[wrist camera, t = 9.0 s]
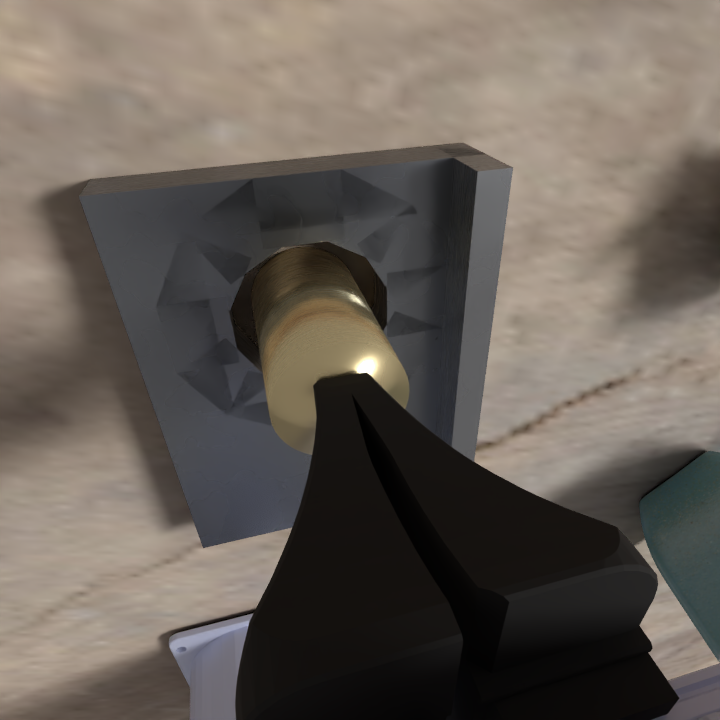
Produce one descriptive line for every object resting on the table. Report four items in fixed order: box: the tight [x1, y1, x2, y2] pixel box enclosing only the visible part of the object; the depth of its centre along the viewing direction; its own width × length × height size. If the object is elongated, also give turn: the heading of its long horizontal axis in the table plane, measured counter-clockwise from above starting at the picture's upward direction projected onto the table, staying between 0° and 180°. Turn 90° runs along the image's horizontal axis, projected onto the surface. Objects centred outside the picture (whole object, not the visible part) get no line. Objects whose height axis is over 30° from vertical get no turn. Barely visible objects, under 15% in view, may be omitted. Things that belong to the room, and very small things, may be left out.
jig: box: [79, 143, 513, 548], centre depth 18 cm, size 14×11×3 cm
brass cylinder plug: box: [251, 247, 409, 455], centre depth 15 cm, size 4×4×6 cm
